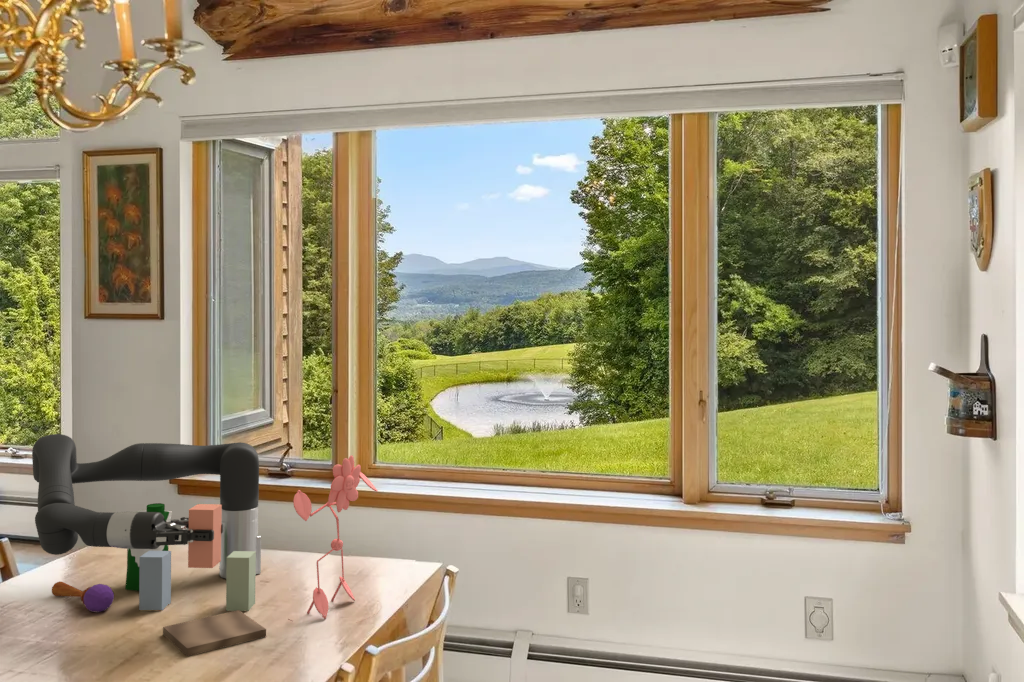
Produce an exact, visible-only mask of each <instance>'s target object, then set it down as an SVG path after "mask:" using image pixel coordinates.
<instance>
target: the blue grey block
mask: <svg viewBox="0 0 1024 682" xmlns="http://www.w3.org/2000/svg"><path fill="white" fill-rule="evenodd" d="M138 593H139V594H138V597H139V598H138V599H139V600H138V601H139V602H138V603H139V604H138V611H139V610H162V611H164V610H165V609H166V608H167V607H168V606H169V605H170V604H171V603H172V551H171V550H168V551H148V552H146V553H145V554H143V555H142V556H140V571H139V591H138ZM168 604H169V605H168ZM167 605H168V606H167ZM166 606H167V607H166ZM165 607H166V608H165ZM164 608H165V609H164Z"/></svg>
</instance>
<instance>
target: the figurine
mask: <svg viewBox="0 0 1024 682" xmlns="http://www.w3.org/2000/svg"><path fill="white" fill-rule="evenodd" d="M332 476H333V480H332V482H331V484H330V491H329V495H328V498H327V499H328V501H327V502H326V503H325V504H323V505H322V506H320V507H319V508H318V509H316V510H314V511H313V512H312V507H313V506H312V501H311V499H310V498H309V497H308V495H307V494H306V493H304V492H302V491H301V490H300V489H298V490H297V491H296V493H295V494H294V497H293V501H292V503H293V508H294V510H295V512H296V514H297V515H298V516H299V517H300V518H301V519H302V520H303V521H305V522H307V521H308V520H309V518H310V517H312V516H314V515H316V514H317V513H318V512H320V511H322V510H323V509H324V508H326V507H328V508H329V509H330V512H331V513H332V515H333V516H334V518H335V519H336V520H335V521H336V523H335V524H336V534H337V538H334V539H333V540H332V541H331V543H330V548H331V550H329V551H328V552H326V553H325V554H324V555H323V556H321V557H320V558H318V559H317V560H316V578H317V587H315V589H313V591H312V592H313V593H312V602H311V604H310V605H309V607H308V609H307V612H306V613H307V614H310V612H311V611H312V609H313V607H315V609H316V611H317V612H318V613H319V615H320V616H321V617H322V618H323V620H326V619H327V617H328V613H329V609H330V608H329V601H328V597H327V595H326V592H325V591H324V590H323V589H322V588H320V586H321V585H320V573H319V572H320V571H319V562H320V561H321V560H323V559H324V558H325V557H326V556H328V555H330V554H331V553H332V552H334V551H335V552H338V551H341V552H340V553H341V554H340V557H341V574H342V575H339V577H338V578H339V583H338V586H337V587H336V590H335V592H334V594H333V595H332V597H331V601H332V602H334V600H335V598H336V596H337V594H338V592H339V591H340V588H341V586H342V588H343V589H344V591H345V593H346V594H347V595H348V597H349V598H350V599H352V601H353V602H355V601H356V599H355V597H354V594H353V592H352V590H351V588H350V586H349V585H348V583H347V582H346V580H345V571H344V570H345V569H344V551H343V547H344V542H343V540H341V539H340V521H339V516H338V515H337V513H341V512H342V511H343V510H344V511H348V508H349V507H350V502H355V501H356V500H358V499H359V491H358V490H357V487H358V486H359V484H360V481H362V482H363V483H364V484H365V485H366V486H367V487H369V489H371V490H372V491H374V492H376V493H377V492H378V489H377V488H376V487H375V485H374V484H373V482H372V481H371V480H370V479H369V478H368V477H367V476H366V474H364V473H363V472H362V467H361V464H356V465H355V457H354V456H353V455H351V454H350V456H349V457H348V458H347V457H345V458H343V460H342V464H338V463H337V464H334V466H333V467H332ZM333 505H336V512H337V513H336V512H335V511H334V508H333V507H332V506H333ZM287 620H288V621H291V622H293V620H292V619H289V618H287Z"/></svg>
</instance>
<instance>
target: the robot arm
mask: <svg viewBox="0 0 1024 682" xmlns="http://www.w3.org/2000/svg"><path fill="white" fill-rule="evenodd" d="M31 450H32V451H31V452H32V454H31V455H32V456H31V458H32V459H31V460H32V476H33V478H34V479H33V480H35V481H36V482H37V483H38V488H37V489H38V491H37V512H36V513H35V517H34V524H35V528H36V531H37V536H38V539H39V543H40V546H41V549H42V550H43V551H44V552H46V553H48V555H49V554H50V555H55V556H58V555H63V554H66V553H68V552H69V551H70V550H71V551H72V549H73V548H74V547H75V546H76V544H77V542H78V540H79V538H80V539H81V541H82V542H83V543H84V545H86V546H88V547H94V548H95V547H97V548H116V549H124V550H125V549H157V548H158V547H159V546H160V545H168V546H181V545H182V546H185V545H188V542H194V540H195V541H212V540H213V539H214V531H213V530H201V529H196V530H195V531H194V529H189V517H184V516H182V517H180V518H176V519H171V520H170V522H166V521H165V519H164V516H163V515H162V514H161V513H160V512H136V511H121V512H109V511H108V512H107V511H106V512H102V511H100V512H99V511H94V510H91V509H89V508H84V507H81V506H78V505H76V504H75V494H74V493H75V492H74V487H73V484H74V485H75V484H82V483H84V484H85V483H94V482H115V481H116V482H117V481H120V482H122V481H123V482H124V481H126V482H128V481H129V482H130V481H133V482H134V481H136V482H137V481H139V482H143V481H144V482H151V481H152V482H153V481H155V482H157V481H159V482H161V481H170V480H174V479H181V478H184V477H185V478H186V477H189V476H190V477H191V476H196V475H197V476H198V475H219V505H222V522H221V561H220V562H219V566H218V567H219V568H218V569H219V576H220V577H221V578H222V579H226V570H227V557H228V556H229V555H230V554H231V553H232V552H233V551H256V575H257V574H261V569H262V568H261V566H262V537H261V535H259V498H260V497H259V496H260V491H259V490H260V460H259V454H258V452H257V450H256V449H255V447H253V446H252V445H251V444H249V443H246V442H232V443H223V444H221V443H220V444H210V445H208V444H207V445H195V444H194V445H193V444H182V443H166V442H165V443H164V442H163V443H162V442H160V443H158V442H156V443H155V442H154V443H153V442H148V443H147V442H145V443H144V442H141V443H140V442H139V443H134V444H131V445H129V446H127V447H125V448H123V449H121V450H120V451H117V452H116V453H114V454H113V455H110V456H108V457H106V458H104V459H101V460H97V461H92V462H84V463H83V462H82V463H78V461H77V458H78V457H77V445H76V443H75V441H74V440H73V438H72V437H70V436H69V435H66V434H60V433H53V434H47V435H44V436H42V437H40V438H38V439H36V441H35V442H34V444H33V446H32V449H31Z"/></svg>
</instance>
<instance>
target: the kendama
mask: <svg viewBox="0 0 1024 682" xmlns="http://www.w3.org/2000/svg"><path fill="white" fill-rule="evenodd" d="M51 594H52V595H53V596H54V597H67V598H68V597H71V598H72V597H73V598H74V597H78V598H80V599H81V602H82V604H83V605H84V606H85V608H86V609H87V610H88V611H90V612H91V613H92V612H94V613H100V612H104V611H106V610H107V609H109V608H110V607H111V605H112V604H113V602H114V598H115V596H114V595H115V594H114V592H113V589H112V587H110V586H109V585H107V584H104V583H103V584H102V583H98V584H94V585H91V586H89V587H87V588H86V589H84V590H80V589H78V588H76V587H74V586H72V585H70V584H68V583H65V582H64V581H57V582H55V583H54V584H53V585H52V587H51Z"/></svg>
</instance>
